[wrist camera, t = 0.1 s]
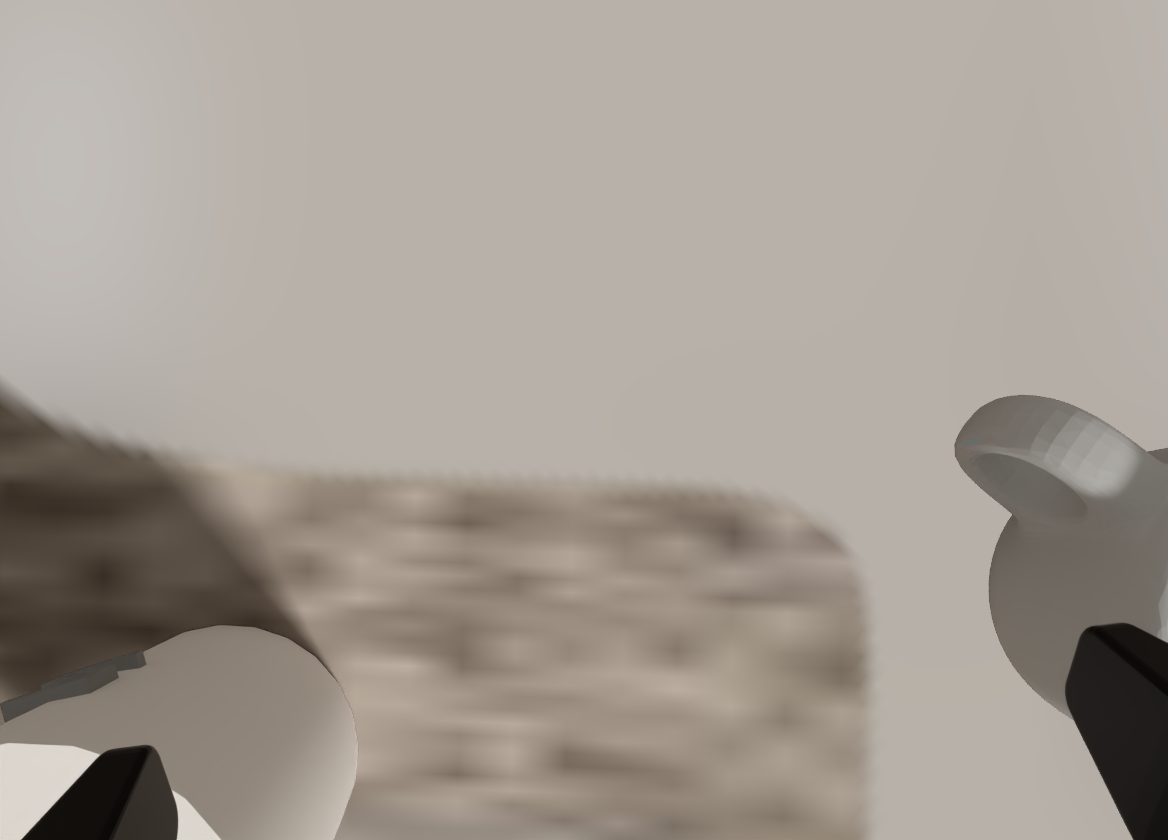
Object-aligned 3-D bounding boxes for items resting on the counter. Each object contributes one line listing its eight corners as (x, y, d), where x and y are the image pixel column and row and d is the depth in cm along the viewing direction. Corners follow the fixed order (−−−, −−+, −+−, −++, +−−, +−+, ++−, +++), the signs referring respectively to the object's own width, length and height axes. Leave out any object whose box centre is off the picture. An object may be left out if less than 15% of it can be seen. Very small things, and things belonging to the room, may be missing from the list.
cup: (802, 544, 25) (954, 574, 17) (981, 311, 26) (1204, 235, 18) (1114, 802, 25) (1405, 949, 17) (1278, 564, 26) (1625, 599, 18)
